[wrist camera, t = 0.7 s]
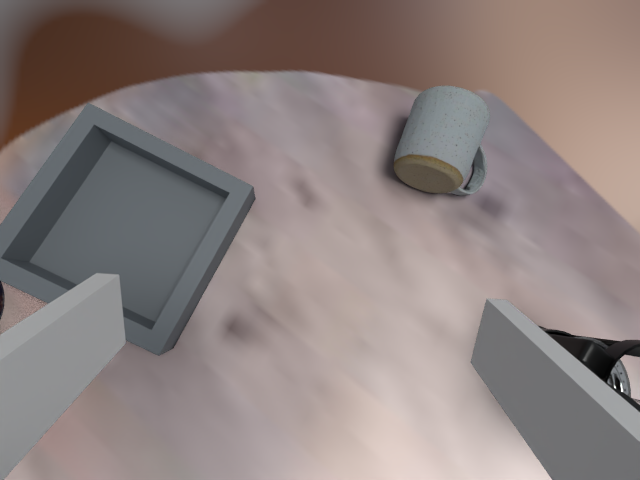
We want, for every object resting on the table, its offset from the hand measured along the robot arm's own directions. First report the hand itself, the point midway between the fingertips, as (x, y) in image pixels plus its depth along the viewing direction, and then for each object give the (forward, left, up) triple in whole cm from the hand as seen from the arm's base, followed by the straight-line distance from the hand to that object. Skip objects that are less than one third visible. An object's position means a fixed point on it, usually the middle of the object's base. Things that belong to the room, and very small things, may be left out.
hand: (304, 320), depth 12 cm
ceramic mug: (+21, -8, -21) cm, 31 cm away
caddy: (0, +15, -21) cm, 26 cm away
